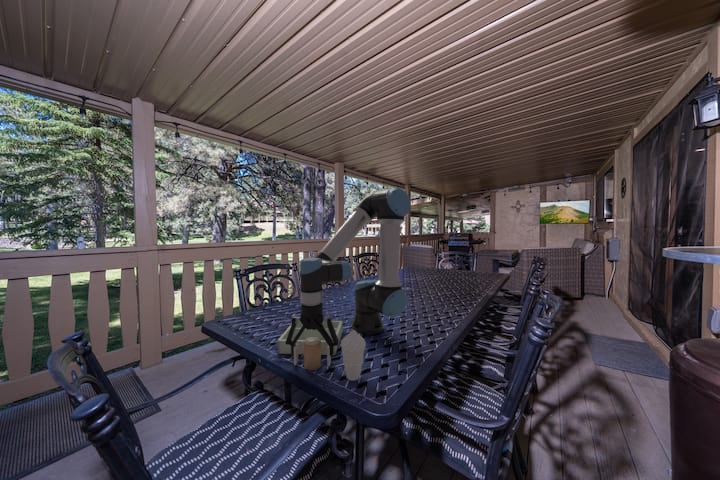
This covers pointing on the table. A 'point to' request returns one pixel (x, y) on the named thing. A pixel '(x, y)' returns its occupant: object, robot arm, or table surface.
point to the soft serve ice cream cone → (353, 354)
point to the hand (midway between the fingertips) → (312, 363)
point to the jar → (312, 353)
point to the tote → (286, 349)
